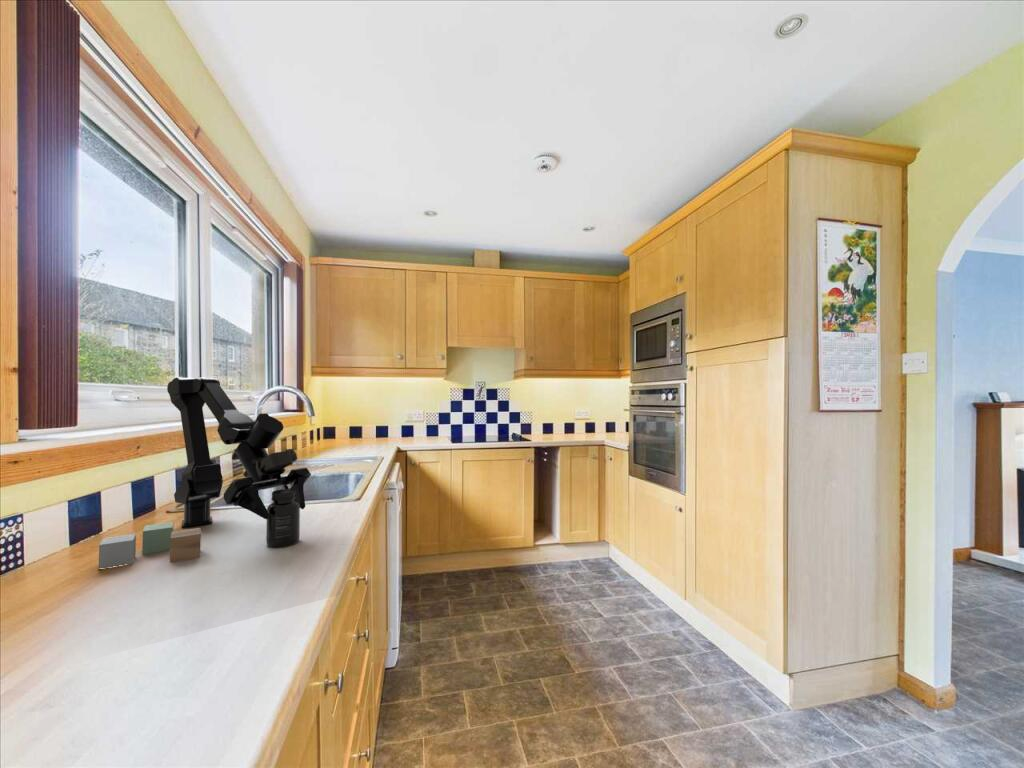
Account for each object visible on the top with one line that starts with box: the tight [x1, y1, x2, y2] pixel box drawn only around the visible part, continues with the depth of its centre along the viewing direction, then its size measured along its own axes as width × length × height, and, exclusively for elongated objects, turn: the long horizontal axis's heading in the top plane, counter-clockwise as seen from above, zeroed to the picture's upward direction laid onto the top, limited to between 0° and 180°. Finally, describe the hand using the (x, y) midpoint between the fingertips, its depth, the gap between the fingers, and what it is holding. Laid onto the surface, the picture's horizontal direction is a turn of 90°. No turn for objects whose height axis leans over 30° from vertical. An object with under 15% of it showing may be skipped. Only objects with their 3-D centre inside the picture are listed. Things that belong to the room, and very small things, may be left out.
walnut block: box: [169, 527, 202, 563], centre depth 91 cm, size 5×5×5 cm
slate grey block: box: [98, 533, 137, 569], centre depth 87 cm, size 5×5×5 cm
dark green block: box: [141, 521, 175, 555], centre depth 95 cm, size 5×5×5 cm
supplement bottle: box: [265, 488, 301, 548], centre depth 100 cm, size 7×7×12 cm
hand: (286, 512), depth 99 cm, fingers open, 9 cm apart
